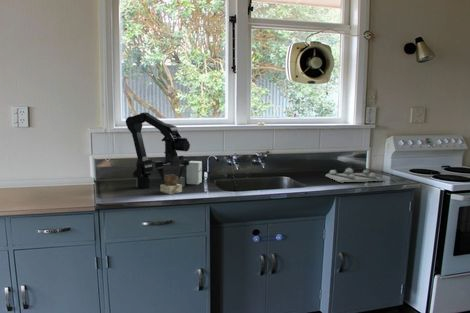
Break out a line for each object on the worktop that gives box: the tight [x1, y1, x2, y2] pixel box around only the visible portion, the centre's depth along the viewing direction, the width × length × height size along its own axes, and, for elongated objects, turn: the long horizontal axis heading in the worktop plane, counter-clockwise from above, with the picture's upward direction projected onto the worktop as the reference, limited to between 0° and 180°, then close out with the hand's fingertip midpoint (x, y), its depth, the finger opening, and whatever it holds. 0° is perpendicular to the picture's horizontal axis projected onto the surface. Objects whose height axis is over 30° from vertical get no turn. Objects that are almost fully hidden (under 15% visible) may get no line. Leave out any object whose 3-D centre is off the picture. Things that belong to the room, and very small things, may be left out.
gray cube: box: [177, 175, 186, 188], centre depth 226 cm, size 5×5×5 cm
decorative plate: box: [325, 167, 386, 184], centre depth 251 cm, size 30×22×7 cm
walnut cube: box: [164, 173, 178, 186], centre depth 212 cm, size 5×5×5 cm
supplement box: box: [186, 160, 203, 186], centre depth 233 cm, size 7×7×13 cm
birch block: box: [159, 183, 183, 195], centre depth 212 cm, size 8×8×4 cm
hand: (170, 179), depth 211 cm, fingers open, 9 cm apart
